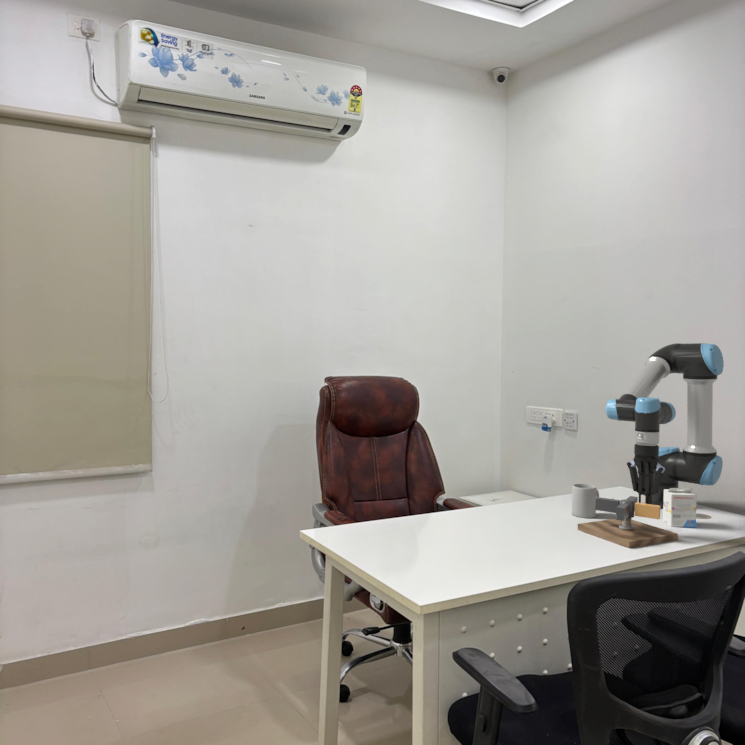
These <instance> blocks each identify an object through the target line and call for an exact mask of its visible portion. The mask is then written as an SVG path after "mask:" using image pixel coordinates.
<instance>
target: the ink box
mask: <svg viewBox="0 0 745 745" xmlns="http://www.w3.org/2000/svg"><path fill="white" fill-rule="evenodd" d="M692 491H693V488H690V487H688V488H687V487H685V488H684V487H683V488H682V487H678V488H670V489H664V499H663V508H662V521H663V522H664V523H666V524H667V525H668V526H669V527H670V528H697V497H698V496H697V494H695V493H693V492H692Z"/></svg>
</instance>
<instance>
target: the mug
mask: <svg viewBox="0 0 745 745" xmlns="http://www.w3.org/2000/svg"><path fill="white" fill-rule="evenodd" d="M571 492H572V493H571V494H572V495H571V515H572V516H573V517H576V518H580V519H581V518H582V519H593V518H595V517H596V516H597V510H595V505H596V498H597V497H600V492H599V489H597V486H595V485H593V484H589V483H574V484H573V485H572V491H571Z"/></svg>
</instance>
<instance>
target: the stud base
mask: <svg viewBox="0 0 745 745" xmlns="http://www.w3.org/2000/svg"><path fill="white" fill-rule="evenodd" d="M577 531H580V532H583V533H586V534H588V535H591V536H594V537H597V538H600V539H602V540H605V541H607V542H610V543H613V544H616V545H619V546H622V547H624V548H628V549H633V548H637V547H642V546H644V547H645V546H649V545H655V544H662V543H665V542H666V543H667V542H668V543H669V542H673V541H678V540H679V534H678V533H677V532H673V531H672V530H671V531H670V530H667V529H664V528H660V527H657V526H653V525H650V524H648V523H643V522H641V521H637V520H634V519H632V518H626V519H625V520H624V521H621V520H616V518H611V519H604V520H597V521H596V520H595V521H590V522H588V521H587V522H583V523H582V522H581V523H577Z"/></svg>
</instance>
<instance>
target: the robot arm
mask: <svg viewBox="0 0 745 745" xmlns="http://www.w3.org/2000/svg"><path fill="white" fill-rule="evenodd" d="M723 371H724V357H723V353H722V350H721V349H720V347H719V346H718V345H716V344H715V343H705V342H702V343H697V342H696V343H679V342H678V343H670V344H668V345H666V346H663V347H661V348H659V349H658V350H656V351H655V352H653V353H652V354H651V355H650V356H649V357H648V358H646V361H645V362H644V367H643V368H642V370H641V371H640V372H639V374H638V375H637V376H636V377H635V379H634V380H633V381H632V382H631V384H630V385H629V386H628V387H627V388H626V390H625V391H624V392H623V393H622V395H621V396H620V397H619V398H611V399H609V400H607V401H606V405H605V414H606V416H607V418H608V419H610V420H614V421H617V422H618V421H621V422H622V421H624V422H634V424H635V425H634V442H635V444H634V445H633V446H634V450H633V452H634V456H633V458H632V460H631V461H628V462H627V463H626V466H627V468H628V470H629V474H630V480H631V485H632V490H633V492H636V493H638V503H644V504H652V505H659V506H661V507H660V509H663V499H664V489H670V488H679V482H682V483H689V484H693V485H700V486H709V487H711V486H714V485H716V484H717V482H718V481H719V479H720V477H721V475H722V470H723V458H722V456H720V455H717V449H716V448H715V447H714V446H713V402H714V401H713V395H714V394H713V391H714V390H713V388H714V386H713V385H714V383H715V382H716V381H717V380H718V376H720V375H721V374H722V373H723ZM670 374H682V379H683V381H685V382H686V384H687V388H686V389H687V390H686V391H687V393H686V394H687V397H686V398H687V400H686V401H687V404H686V405H687V408H686V409H687V410H686V411H687V412H686V414H687V415H686V418H687V420H686V428H687V429H686V445H685V446H683V447H682V451H681V449H680V447H678V446H659V444H660V426H661V425H667V424H668V423H671V422H672V421H674V420H675V418H676V413H677V411H676V408H675V407H674V405H673V404H672V403H671V402H668V401H661V399H659V398H657V397H649V396H650V395H651V394H652V393H653V391H654V390H655V388H657V386H658V384H659V383H660V382H661V381H662V379H666V378H667V377H668V376H669V375H670Z"/></svg>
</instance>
